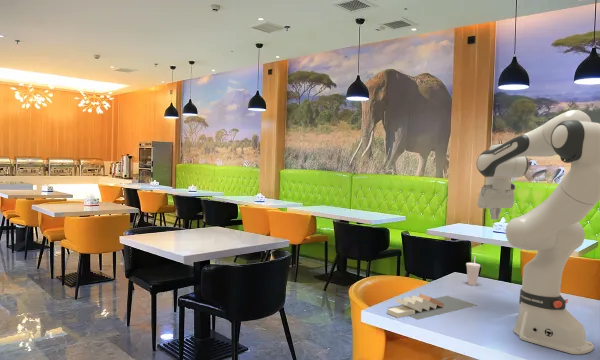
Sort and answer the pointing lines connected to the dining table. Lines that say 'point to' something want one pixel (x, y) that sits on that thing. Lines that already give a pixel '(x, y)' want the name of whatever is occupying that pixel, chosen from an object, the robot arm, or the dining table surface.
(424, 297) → the terracotta domino
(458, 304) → the rubber mat
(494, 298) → the dining table surface
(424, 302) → the ivory domino
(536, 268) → the robot arm
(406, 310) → the ivory domino
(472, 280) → the smoothie
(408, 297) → the ivory domino
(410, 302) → the ivory domino
